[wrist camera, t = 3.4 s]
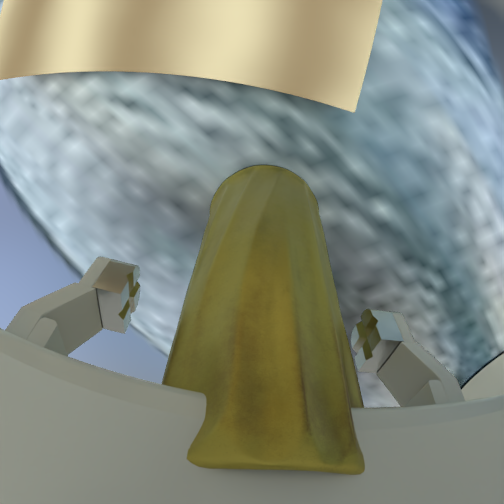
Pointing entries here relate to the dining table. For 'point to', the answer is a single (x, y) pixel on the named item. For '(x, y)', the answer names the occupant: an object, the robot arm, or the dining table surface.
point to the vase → (267, 334)
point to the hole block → (199, 41)
